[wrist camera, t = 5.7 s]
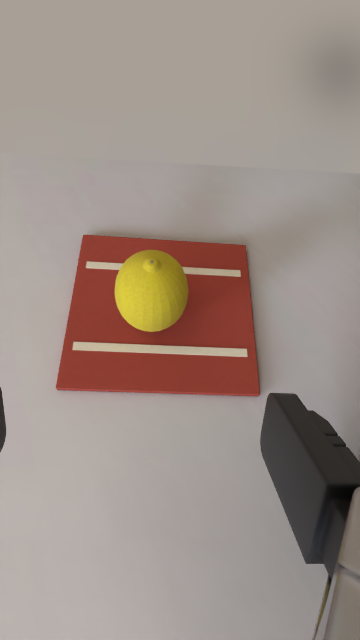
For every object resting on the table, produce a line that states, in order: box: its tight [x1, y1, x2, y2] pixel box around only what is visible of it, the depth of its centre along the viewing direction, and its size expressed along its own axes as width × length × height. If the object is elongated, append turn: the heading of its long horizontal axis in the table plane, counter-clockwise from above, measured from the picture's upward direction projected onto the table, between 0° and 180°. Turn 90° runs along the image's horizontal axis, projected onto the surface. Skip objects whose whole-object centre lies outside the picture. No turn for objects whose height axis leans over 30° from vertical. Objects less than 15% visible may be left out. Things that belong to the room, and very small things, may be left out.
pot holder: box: [56, 235, 260, 396], centre depth 29 cm, size 16×15×1 cm
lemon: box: [114, 250, 188, 332], centre depth 25 cm, size 6×6×8 cm
